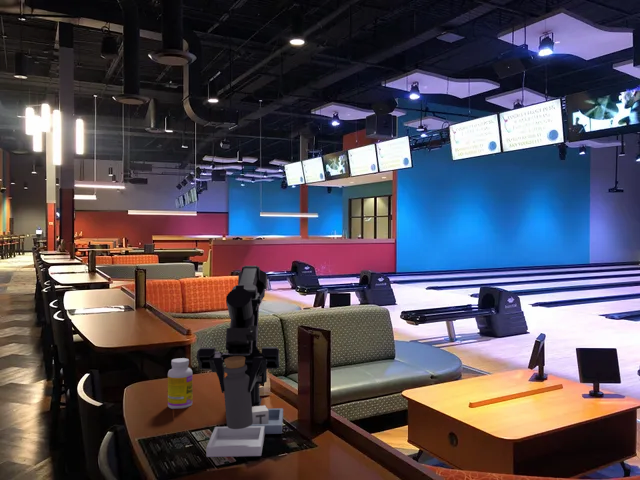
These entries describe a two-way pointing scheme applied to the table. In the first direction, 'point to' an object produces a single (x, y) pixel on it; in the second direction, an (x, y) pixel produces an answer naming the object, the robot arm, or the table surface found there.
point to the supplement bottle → (180, 384)
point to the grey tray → (236, 442)
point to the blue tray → (273, 422)
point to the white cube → (260, 415)
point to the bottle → (237, 393)
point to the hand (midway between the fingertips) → (235, 392)
